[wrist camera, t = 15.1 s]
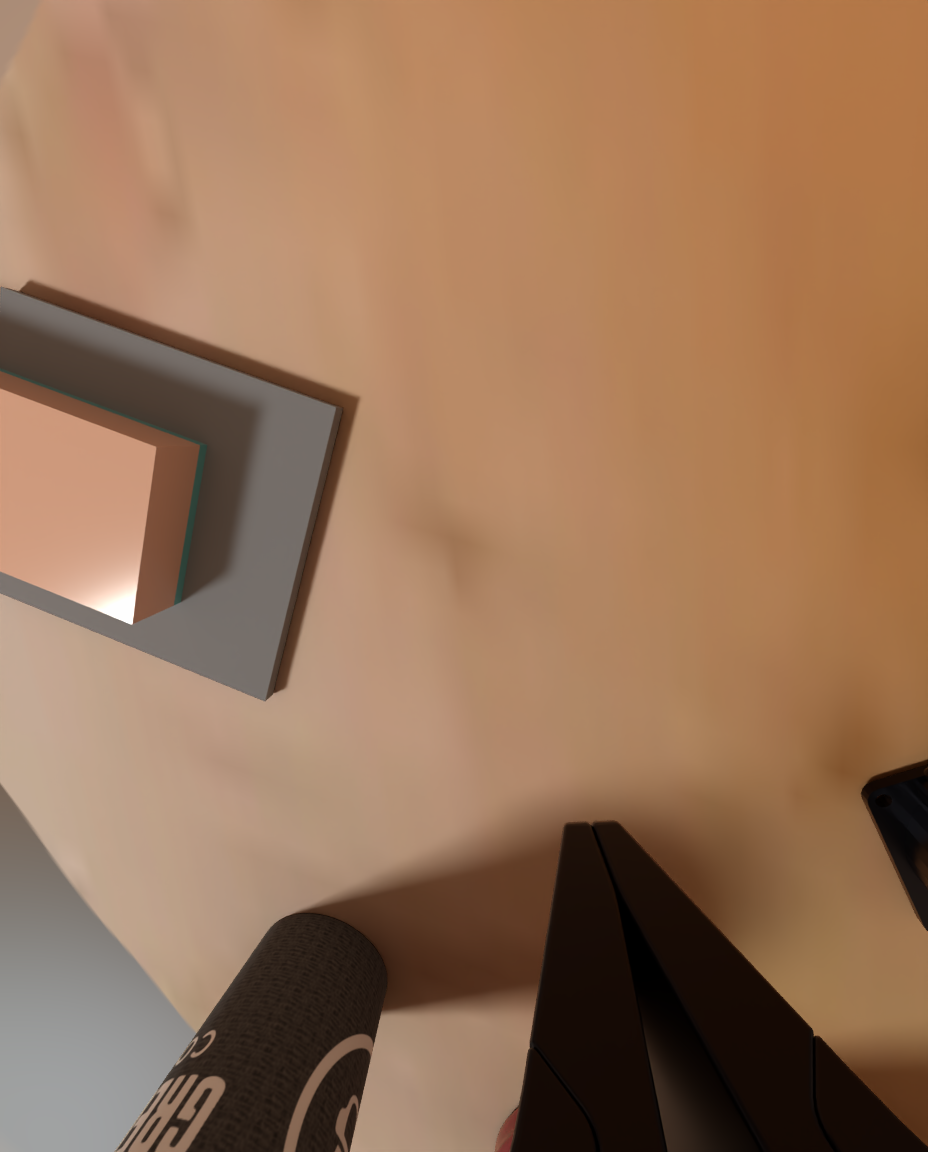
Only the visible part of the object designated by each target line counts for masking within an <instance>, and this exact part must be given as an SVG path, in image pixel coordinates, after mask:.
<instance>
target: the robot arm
mask: <svg viewBox="0 0 928 1152" xmlns="http://www.w3.org/2000/svg"><path fill="white" fill-rule="evenodd" d="M883 794H885V796H884V797H883V798H881V799H876V798H877V797H878V796H880V795H883ZM861 795H862V799H863V801H864V803H865V805H866V808H867V810H868V812H869V814H870V816H871V818H872V821H873V823H874V825H875V827H876V829H877V831H878V834H879V836H880V838H881V840H882V842H883V845H884V847H885V849H886V851H887V853H888V855H889V858H890V860H891V862H892V864H893V866H894V868H895V871H896V873H897V875H898V877H899V879H900V882H901V884H902V886H903V888H904V890H905V892H906V895H907V897H908V899H909V901H910V903H911V905H912V908H913V910H914V912H915V914H916V916H917V918H918V919H919V921H920V922H921V923H922V925H923V926H924V927H925V929H926V930H927V931H928V765H925V766H922V767H919V768H915V769H912V770H909V771H906V772H902V773H899V774H896V775H892V776H889V777H886V778H882V779H879V780H876V781H872V782H870V783H868V784H866V785H865V786H864V787H863V789H862V792H861ZM509 1152H928V1147H927V1146H926V1145H925V1144H924V1143H923V1142H922V1141H921V1140H920V1139H919V1138H918V1137H917V1136H916V1135H915V1134H914V1133H913V1132H911V1131H910V1130H909V1129H908V1128H907V1127H906V1126H905V1125H904V1124H903V1123H902V1122H901V1121H900V1120H899V1119H898V1118H897V1117H896V1116H895V1115H894V1114H893V1113H892V1112H891V1111H890V1110H889V1109H888V1108H887V1107H886V1106H885V1105H884V1103H883V1102H882V1101H881V1100H880V1099H879V1098H878V1097H877V1096H876V1095H875V1094H874V1093H873V1092H872V1091H871V1090H870V1089H869V1088H868V1087H867V1086H866V1085H865V1084H864V1083H863V1082H862V1081H861V1080H860V1079H859V1078H858V1077H857V1076H856V1075H855V1074H854V1073H853V1072H852V1071H851V1069H850V1068H849V1067H848V1066H847V1065H846V1064H845V1063H844V1062H843V1061H842V1060H841V1059H840V1058H839V1057H838V1056H837V1055H836V1054H835V1052H834V1051H833V1050H832V1049H831V1048H830V1047H829V1046H828V1045H827V1044H826V1043H825V1042H824V1041H823V1040H822V1038H821V1037H819V1036H814V1033H813V1030H812V1028H811V1027H810V1026H809V1025H808V1024H807V1023H806V1022H805V1021H804V1020H803V1019H802V1017H801V1016H800V1015H799V1014H798V1013H797V1012H796V1011H795V1010H794V1009H793V1008H792V1007H791V1006H790V1005H789V1004H788V1003H787V1001H786V1000H785V999H784V998H783V997H782V996H781V995H780V994H779V993H778V992H777V991H776V990H775V989H774V988H773V987H772V985H771V984H770V983H769V982H768V981H767V980H766V979H765V978H764V977H763V976H762V975H761V974H760V973H759V972H758V971H757V969H756V968H755V967H754V966H753V965H752V964H751V963H750V962H749V961H748V960H747V959H746V958H745V957H744V956H743V954H742V953H741V952H740V951H739V950H738V949H737V948H736V947H735V946H734V945H733V944H732V943H731V942H730V941H729V940H728V938H727V937H726V936H725V935H724V934H723V933H722V932H721V931H720V930H719V929H718V928H717V927H716V926H715V925H714V924H713V922H712V921H711V920H710V919H709V918H708V917H707V916H706V915H705V914H704V913H703V912H702V911H701V910H700V909H699V908H698V906H697V905H696V904H695V903H694V902H693V901H692V900H691V899H690V898H689V897H688V896H687V895H686V894H685V893H684V891H683V890H682V889H681V888H680V887H679V886H678V885H677V884H676V883H675V882H674V881H673V880H672V879H671V878H670V877H669V875H668V874H667V873H666V872H665V871H664V870H663V869H662V868H661V867H660V866H659V865H658V864H657V863H656V862H655V861H654V859H653V858H652V857H651V856H650V855H649V854H648V853H647V852H646V851H645V850H644V849H643V848H642V847H641V846H640V845H639V843H638V842H637V841H636V840H635V839H634V838H633V837H632V836H631V835H630V834H629V833H628V832H627V831H626V830H625V828H624V827H623V826H622V825H621V824H620V823H618V822H617V821H614V820H610V821H594V822H592V823H591V825H590V824H589V823H588V822H568V823H565V825H564V827H563V833H562V840H561V846H560V852H559V859H558V865H557V871H556V878H555V884H554V891H553V897H552V903H551V910H550V916H549V923H548V929H547V935H546V942H545V948H544V954H543V961H542V967H541V974H540V980H539V986H538V993H537V999H536V1006H535V1012H534V1018H533V1025H532V1031H531V1037H530V1049H529V1050H528V1054H527V1061H526V1067H525V1074H524V1080H523V1086H522V1092H521V1097H520V1102H519V1107H518V1113H517V1118H516V1123H515V1129H514V1134H513V1139H512V1143H511V1147H510V1151H509Z"/></svg>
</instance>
